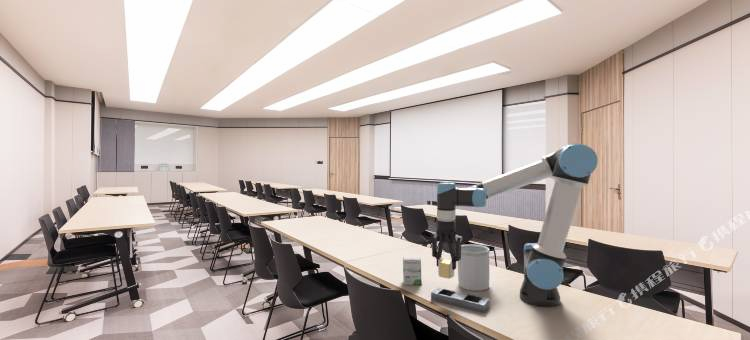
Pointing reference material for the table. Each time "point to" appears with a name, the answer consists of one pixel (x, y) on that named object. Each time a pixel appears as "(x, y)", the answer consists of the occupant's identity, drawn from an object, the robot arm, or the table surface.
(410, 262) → the ink box
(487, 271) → the utensil holder
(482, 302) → the grey slotted tray
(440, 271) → the block
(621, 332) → the table surface
